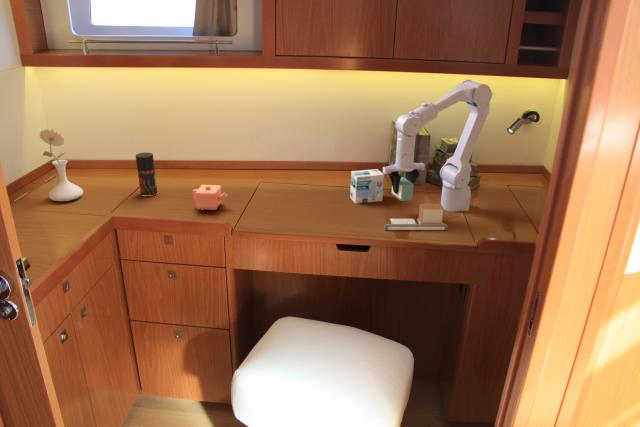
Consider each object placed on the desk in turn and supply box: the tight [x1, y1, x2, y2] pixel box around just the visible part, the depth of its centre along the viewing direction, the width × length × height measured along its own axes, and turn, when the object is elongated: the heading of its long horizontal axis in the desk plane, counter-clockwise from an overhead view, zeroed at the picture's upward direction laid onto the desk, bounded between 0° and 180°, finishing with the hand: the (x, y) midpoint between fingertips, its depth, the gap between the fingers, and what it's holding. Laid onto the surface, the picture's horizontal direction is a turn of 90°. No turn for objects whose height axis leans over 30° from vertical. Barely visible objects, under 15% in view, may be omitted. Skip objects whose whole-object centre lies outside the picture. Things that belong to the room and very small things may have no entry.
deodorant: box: [135, 152, 158, 196], centre depth 188 cm, size 6×6×15 cm
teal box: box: [391, 176, 415, 202], centre depth 171 cm, size 7×4×6 cm, turn 20°
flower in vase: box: [39, 129, 84, 202], centre depth 182 cm, size 13×11×25 cm
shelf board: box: [383, 218, 449, 231], centre depth 172 cm, size 20×17×2 cm
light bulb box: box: [349, 168, 385, 205], centre depth 186 cm, size 11×7×11 cm, turn 105°
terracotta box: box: [417, 203, 445, 224], centre depth 169 cm, size 7×4×6 cm, turn 92°
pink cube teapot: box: [191, 184, 228, 211], centre depth 179 cm, size 8×12×8 cm, turn 85°
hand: (401, 192), depth 172 cm, fingers closed on teal box, 4 cm apart
